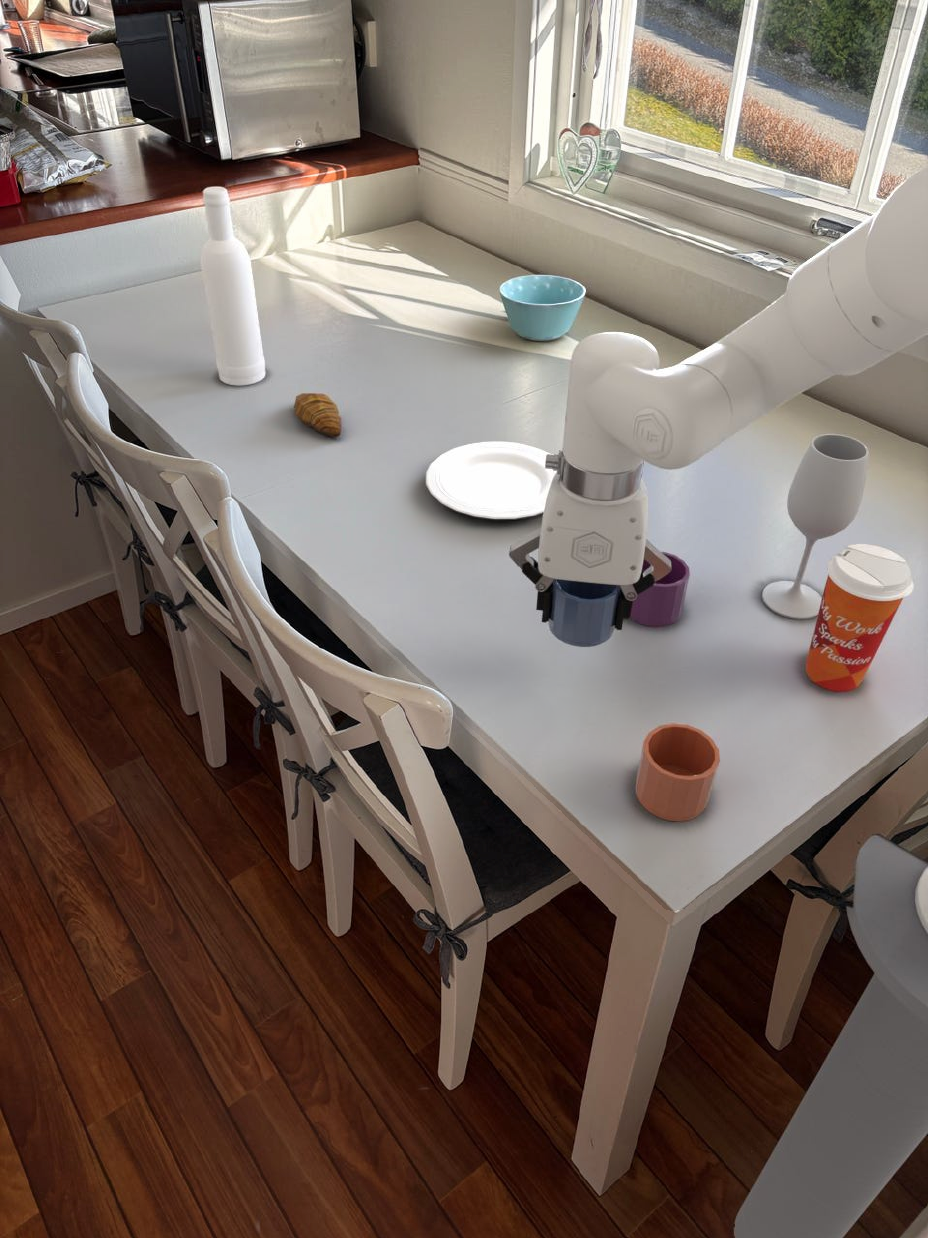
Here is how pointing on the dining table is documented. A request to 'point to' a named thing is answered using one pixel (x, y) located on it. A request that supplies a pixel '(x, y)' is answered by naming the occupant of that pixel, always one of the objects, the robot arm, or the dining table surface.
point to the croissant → (318, 413)
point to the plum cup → (662, 596)
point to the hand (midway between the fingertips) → (582, 617)
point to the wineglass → (820, 512)
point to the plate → (491, 480)
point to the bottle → (230, 296)
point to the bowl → (541, 305)
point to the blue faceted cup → (583, 612)
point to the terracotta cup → (676, 771)
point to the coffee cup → (855, 614)
